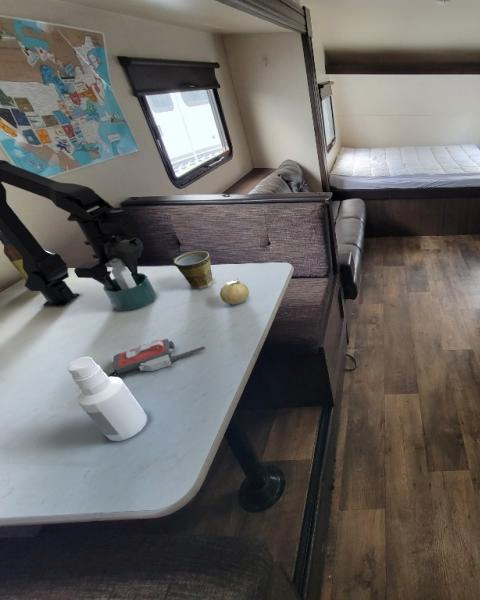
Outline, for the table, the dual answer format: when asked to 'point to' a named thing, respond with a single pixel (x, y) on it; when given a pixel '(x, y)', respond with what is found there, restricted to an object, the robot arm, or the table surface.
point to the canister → (132, 294)
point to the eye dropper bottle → (122, 275)
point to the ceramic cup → (195, 268)
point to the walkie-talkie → (147, 358)
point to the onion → (234, 292)
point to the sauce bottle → (13, 255)
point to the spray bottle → (107, 400)
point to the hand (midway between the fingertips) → (125, 282)
